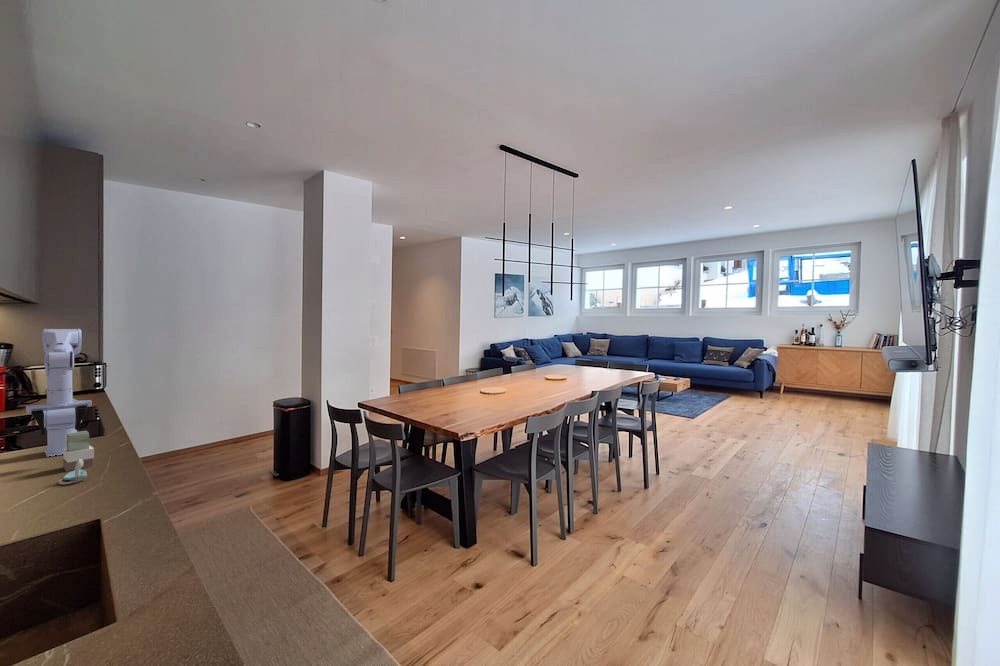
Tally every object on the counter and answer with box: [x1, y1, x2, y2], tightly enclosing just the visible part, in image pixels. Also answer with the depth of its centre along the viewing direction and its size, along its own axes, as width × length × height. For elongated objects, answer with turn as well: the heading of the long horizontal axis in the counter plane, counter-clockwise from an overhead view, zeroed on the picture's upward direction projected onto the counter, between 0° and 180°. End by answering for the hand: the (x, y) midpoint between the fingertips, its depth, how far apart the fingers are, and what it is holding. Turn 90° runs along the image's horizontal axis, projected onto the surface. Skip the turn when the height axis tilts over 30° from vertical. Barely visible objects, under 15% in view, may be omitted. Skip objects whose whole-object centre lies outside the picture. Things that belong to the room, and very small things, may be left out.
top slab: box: [63, 444, 95, 463], centre depth 135 cm, size 6×6×3 cm
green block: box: [67, 430, 90, 452], centre depth 134 cm, size 4×4×5 cm
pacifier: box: [57, 459, 88, 486], centre depth 123 cm, size 7×6×6 cm
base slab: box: [62, 458, 94, 472], centre depth 135 cm, size 6×6×3 cm
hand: (60, 431), depth 137 cm, fingers open, 7 cm apart
